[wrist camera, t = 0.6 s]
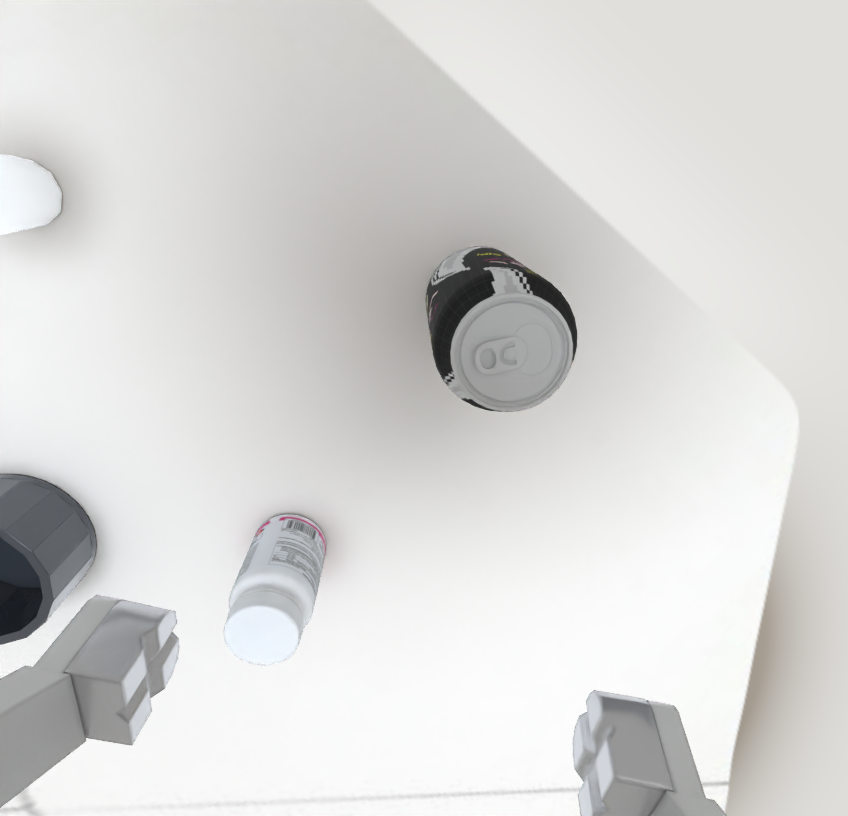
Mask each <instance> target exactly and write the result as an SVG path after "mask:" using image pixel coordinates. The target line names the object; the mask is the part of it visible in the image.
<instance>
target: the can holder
mask: <svg viewBox="0 0 848 816" xmlns="http://www.w3.org/2000/svg"><path fill="white" fill-rule="evenodd" d="M95 554H96V536H95V532H94V529H93V526H92V523H91V522H90V520H89V518H88V516H87V515H86V513H85V512H84V510H83V509H82V508H81V507H80V505H79V504H78V503H77V502H76V501H75V500H74V499H72V498H71V497H70V496H69V495H68V494H66V493H65V492H64V491H62V490H61V489H59V488H57V487H56V486H54V485H52V484H50V483H47V482H45V481H43V480H40V479H37V478H33V477H29V476H24V475H16V474H4V475H0V645H2V644H6V643H9V642H13V641H16V640H20V639H24V638H27V637H28V636H30V635H31V634H32V633H33V632H34V631H36V630H37V629H38V628H39V627H40V626H42V625H43V624H44V623H45V622H46V621H47V620H48V619H49V617H50V616H51V615H52V614H53V613H54V612H55V610H56V609H57V608H58V607H59V606H60V604H61V603H62V602H63V601H64V600H65V599H66V597H67V596H68V595H69V594H70V593H71V591H72V590H73V589H74V588H75V587H76V585H77V584H78V583H79V582H80V581H81V580H82V578H83V577H84V576H85V575H86V572H87V571H88V569H89V568H90V566H91V564H92V562H93V560H94V557H95Z"/></svg>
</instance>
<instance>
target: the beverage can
mask: <svg viewBox="0 0 848 816" xmlns="http://www.w3.org/2000/svg"><path fill="white" fill-rule="evenodd" d="M426 310H427V316H428V323H429V330H430V336H431V343H432V350H433V356H434V359H435V363H436V367H437V369H438V371H439V373H440V375H441V377H442V379H443V381H444V382H445V383H446V384H447V386H448V387H449V388H450V389H451V391H452V392H454V393H455V394H456V395H457V396H458V397H460V398H461V399H462V400H464V401H466V402H468V403H470V404H471V405H473V406H475V407H479V408H482V409H485V410H490V411H499V412H503V411H504V412H512V411H521V410H524V409H528V408H531V407H533V406H536V405H538V404H540V403H542V402H543V401H544V400H546V399H547V398H549V397H550V396H551V395H552V394H553V393H554V392H555V391H556V390H557V389H558V388H559V387H560V385H561V384H562V382H563V381H564V380H565V378H566V376H567V373H568V372H569V369H570V367H571V365H572V362H573V360H574V356H575V352H576V347H577V329H576V323H575V318H574V315H573V313H572V310H571V308H570V305H569V304H568V302H567V301H566V299H565V298H564V296H563V295H562V294H561V292H560V291H559V290H558V289H557V288H555V287H554V286H553V285H552V284H551V283H550V282H548V281H547V280H545V279H544V278H542V277H541V276H539V275H538V274H536V273H535V272H533V271H531V270H530V269H528V268H527V267H525V266H524V265H522V264H521V263H519V262H518V261H516V260H514V259H513V258H511V257H510V256H508V255H507V254H505V253H503V252H502V251H499V250H496V249H493V248H489V247H470V248H466V249H463V250H460V251H458V252H456V253H454V254H452V255H450V256H449V257H448V258H447V259H445V260H444V261H443V262H442V263H441V264H440V265H439V266H438V268H437V269H436V270H435V272H434V273H433V275H432V277H431V279H430V282H429V285H428V288H427V293H426Z"/></svg>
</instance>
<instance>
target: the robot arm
mask: <svg viewBox="0 0 848 816" xmlns="http://www.w3.org/2000/svg"><path fill="white" fill-rule="evenodd" d="M176 624H177V619H176V612H175V611H172V610H168V609H163V608H159V607H154V606H149V605H145V604H140V603H135V602H131V601H126V600H122V599H117V598H112V597H107V596H102V595H96V596H94V597H93V598H91V599H90V600H88V601H87V602H86V604H85V605H84V606H83V607H82V608H81V610H80V611H79V612H78V613H77V614H76V616H75V617H74V618H73V619H72V620H71V622H70V623H69V624H68V625H67V627H66V628H65V629H64V630H63V631H62V633H61V634H60V635H59V636H58V637H57V639H56V640H55V641H54V642H53V643H52V645H51V646H50V647H49V648H48V649H47V651H46V652H45V653H44V654H43V656H42V657H41V658H40V659H39V660H38V662H37V663H36V664H35V665H34V666H33V667H31V666H24V667H22V668H20V669H18V670H16V671H14V672H12V673H11V674H9V675H7V676H5V677H3V678H1V679H0V808H1V807H2V806H3V805H4V804H6V803H7V802H8V801H10V800H11V799H12V798H13V797H15V796H16V795H17V794H19V793H20V792H21V791H22V790H24V789H25V788H26V787H28V786H29V785H30V784H31V783H33V782H34V781H35V780H37V779H38V778H39V777H40V776H42V775H43V774H44V773H46V772H47V771H48V770H49V769H51V768H52V767H53V766H54V765H56V764H57V763H58V762H60V761H61V760H62V759H63V758H65V757H66V756H67V755H69V754H70V753H71V752H72V751H74V750H75V749H76V748H78V747H79V746H80V745H81V744H83V743H84V742H85V741H86V738H90V739H96V740H102V741H108V742H114V743H120V744H126V745H133V743H134V741H135V739H136V738H137V736H138V734H139V732H140V731H141V729H142V727H143V725H144V724H145V722H146V720H147V718H148V717H149V715H150V713H151V711H152V709H151V701H150V698H151V697H153V696H154V695H156V694H157V693H159V692H160V691H162V690H163V689H164V688H165V687H166V685H167V683H168V681H169V679H170V677H171V676H172V673H173V670H174V668H175V665H176V662H177V659H178V653H179V638H178V637H177V636H176V635H175V634H174V633H173V632H172V630H173V629H174V627H175V625H176ZM586 705H587V711H588V712H586V713H584V714H582V715H580V716H579V718H578V721H577V723H576V726H575V730H574V737H573V759H574V767H575V770H576V772H577V773H578V774H579V776H580V777H581V779H582V780H583V782H584V783H583V785H582V787H581V789H580V791H579V793H578V799H579V807H580V814H581V816H727V815H726V814H725V812H724V811H723V810H722V809H721V808H720V807H719V805H718V804H717V803H716V802H715V801H714V800H711V799H707V798H706V797H705V794H704V791H703V787H702V784H701V781H700V778H699V775H698V772H697V769H696V765H695V762H694V759H693V756H692V753H691V750H690V747H689V743H688V740H687V737H686V734H685V731H684V728H683V725H682V721H681V718H680V715H679V712H678V710H677V709H676V708H675V706H673V705H670V704H665V703H659V702H653V701H648V700H645V699H642V698H636V697H630V696H624V695H619V694H613V693H607V692H602V691H596V690H594V691H592V692H591V693H590V694H589V696H588V698H587V700H586Z"/></svg>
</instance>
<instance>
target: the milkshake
mask: <svg viewBox="0 0 848 816" xmlns="http://www.w3.org/2000/svg"><path fill="white" fill-rule="evenodd" d="M61 201H62V191H61V189H60V187H59V186H58V184H57V182H56V180H55V179H54V177H53V175H52V173H51V172H50V171H48V170H47V169H45V168H43V167H42V166H40V165H39V164H37V163H35V162H34V161H32V160H30V159H25V158H20V157H15V156H10V155H5V154H0V235H4V234H9V233H13V232H17V231H22V230H26V229H31V228H35V227H40V226H44V225H48V224H49V223H50V222H51V221H52V220H53V219H54V218H55V217H56V216H57V215H58V214H59V213H60V212H61Z"/></svg>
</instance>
